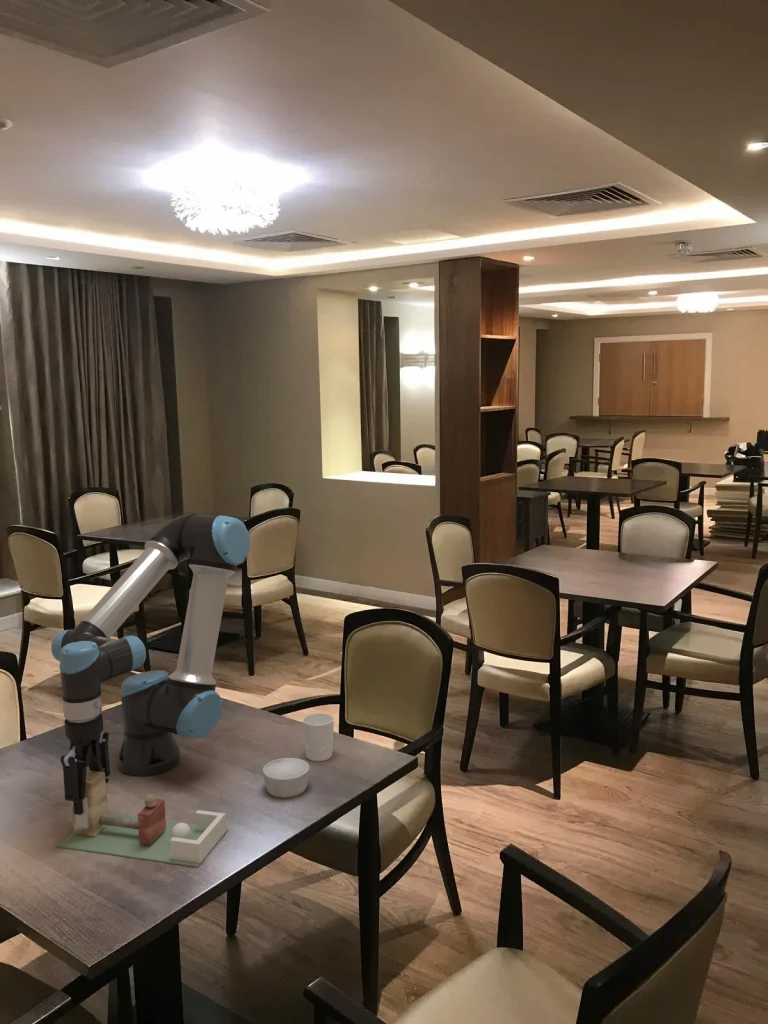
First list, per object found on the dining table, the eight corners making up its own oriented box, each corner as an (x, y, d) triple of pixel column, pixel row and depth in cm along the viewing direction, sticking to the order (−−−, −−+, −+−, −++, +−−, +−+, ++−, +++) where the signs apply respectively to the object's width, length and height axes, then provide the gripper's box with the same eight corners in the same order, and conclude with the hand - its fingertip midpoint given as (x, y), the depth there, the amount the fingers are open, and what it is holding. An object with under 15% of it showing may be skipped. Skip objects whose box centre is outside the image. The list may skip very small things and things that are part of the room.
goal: (170, 858, 160) (169, 840, 159) (198, 827, 171) (197, 810, 171) (200, 863, 158) (199, 844, 158) (226, 831, 170) (225, 813, 169)
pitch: (57, 847, 165) (57, 845, 165) (97, 812, 178) (97, 811, 178) (197, 867, 157) (197, 865, 157) (228, 829, 171) (228, 828, 171)
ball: (167, 846, 164) (166, 828, 164) (177, 835, 168) (176, 818, 167) (185, 848, 163) (184, 830, 163) (194, 838, 167) (193, 820, 166)
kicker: (71, 835, 168) (67, 782, 167) (90, 819, 174) (86, 768, 173) (150, 846, 164) (147, 791, 162) (166, 830, 170) (163, 777, 168)
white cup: (333, 762, 201) (332, 725, 200) (302, 762, 201) (301, 725, 200) (335, 748, 209) (334, 712, 208) (305, 749, 209) (304, 712, 208)
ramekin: (285, 773, 196) (284, 753, 195) (320, 785, 190) (319, 764, 189) (253, 791, 187) (252, 770, 186) (288, 805, 181) (287, 783, 180)
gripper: (72, 735, 157) (80, 844, 161) (123, 701, 175) (129, 800, 178) (39, 731, 159) (48, 839, 163) (93, 698, 177) (100, 796, 180)
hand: (90, 819), depth 170 cm, fingers closed on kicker, 5 cm apart
